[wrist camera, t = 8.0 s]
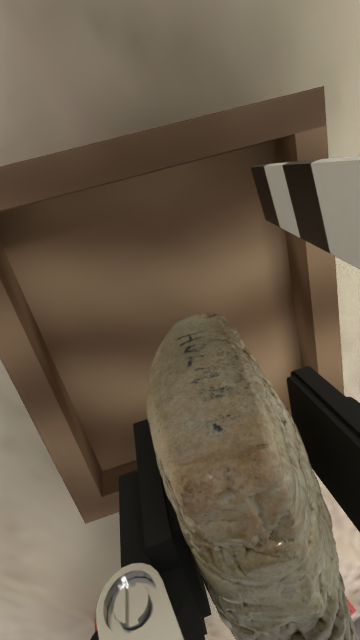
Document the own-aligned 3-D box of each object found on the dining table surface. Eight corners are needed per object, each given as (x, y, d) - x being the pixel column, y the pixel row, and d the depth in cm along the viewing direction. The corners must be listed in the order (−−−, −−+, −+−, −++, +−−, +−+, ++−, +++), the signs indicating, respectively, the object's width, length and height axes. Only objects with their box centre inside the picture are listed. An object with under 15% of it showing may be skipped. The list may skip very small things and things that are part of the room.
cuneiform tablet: (255, 164, 9) (342, 476, 13) (101, 230, 9) (234, 507, 14) (486, 142, 2) (503, 769, 7) (-67, 359, 3) (286, 802, 7)
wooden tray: (-51, 190, 16) (-87, 188, 13) (287, 104, 17) (323, 86, 14) (88, 481, 23) (85, 523, 20) (317, 402, 24) (346, 431, 22)
